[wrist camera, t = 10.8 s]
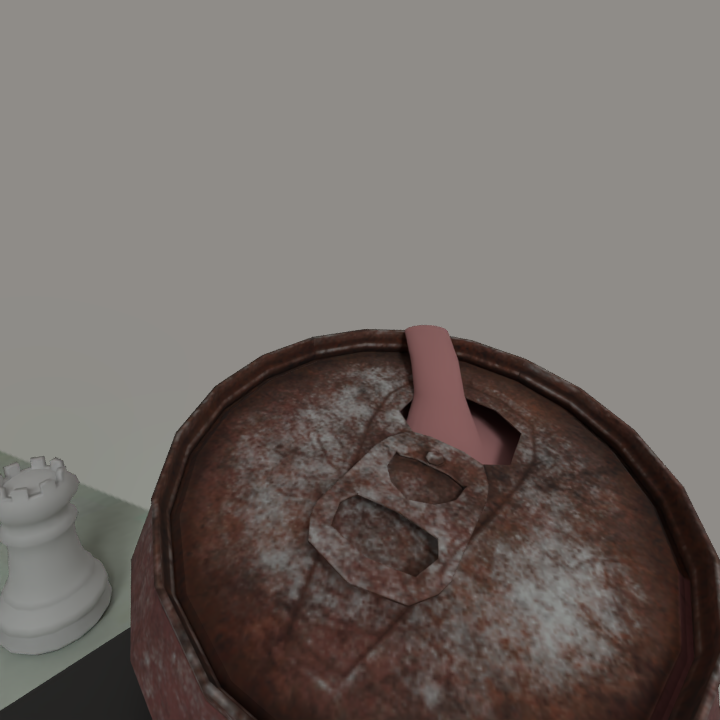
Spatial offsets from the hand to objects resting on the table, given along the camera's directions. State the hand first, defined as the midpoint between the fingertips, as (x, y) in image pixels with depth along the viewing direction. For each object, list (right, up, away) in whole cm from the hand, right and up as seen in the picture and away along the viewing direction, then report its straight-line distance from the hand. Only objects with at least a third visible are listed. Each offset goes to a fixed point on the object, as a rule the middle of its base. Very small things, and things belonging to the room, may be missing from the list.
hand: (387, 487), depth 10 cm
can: (-1, -10, +3) cm, 10 cm away
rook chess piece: (-15, -9, +11) cm, 21 cm away
